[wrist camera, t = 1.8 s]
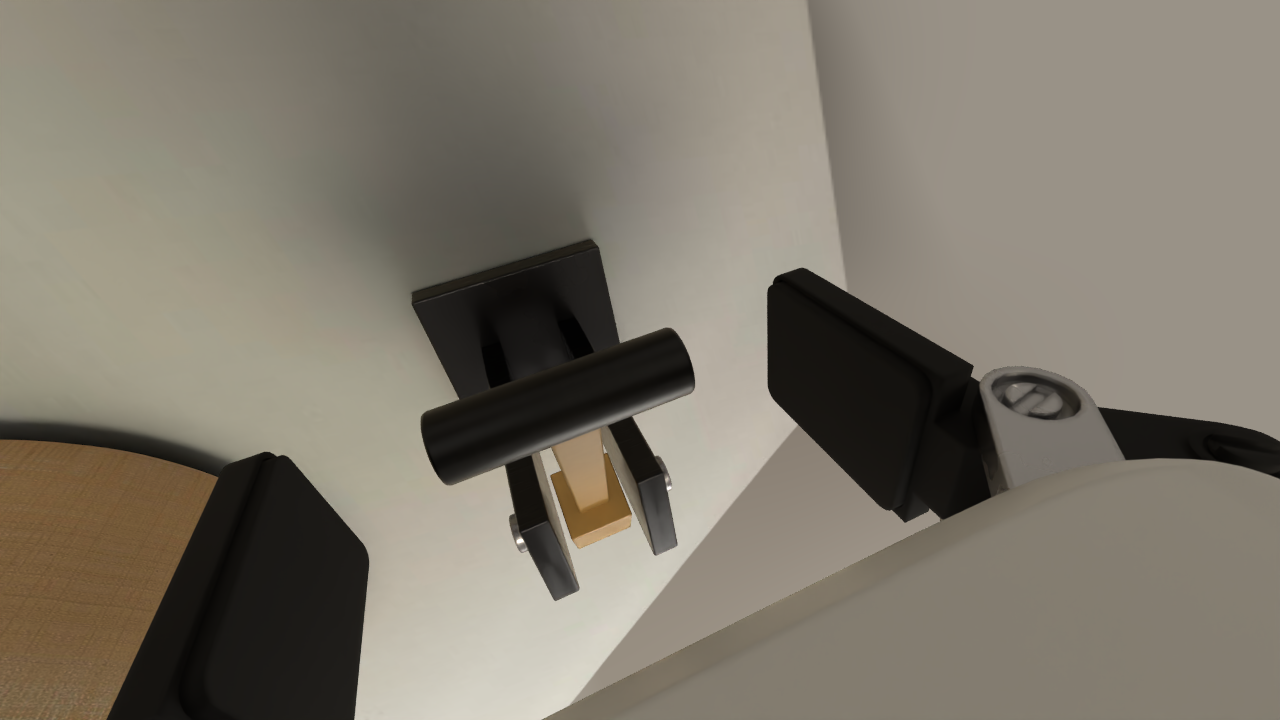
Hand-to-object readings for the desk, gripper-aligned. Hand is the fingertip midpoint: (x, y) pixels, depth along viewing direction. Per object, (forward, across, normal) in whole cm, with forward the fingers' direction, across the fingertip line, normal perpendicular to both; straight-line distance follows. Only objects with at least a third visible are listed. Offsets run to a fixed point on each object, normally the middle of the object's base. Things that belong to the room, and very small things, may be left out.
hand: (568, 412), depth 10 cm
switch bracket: (+16, 0, +8) cm, 18 cm away
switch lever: (+4, 0, +4) cm, 5 cm away
